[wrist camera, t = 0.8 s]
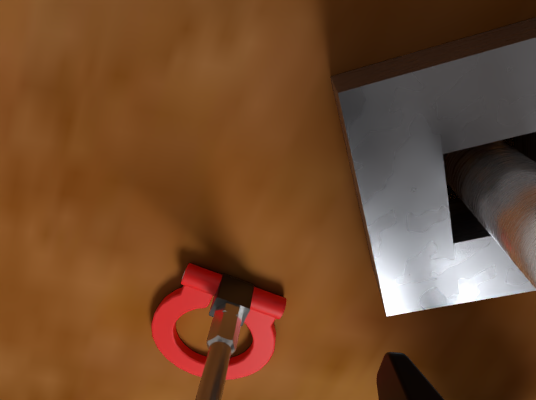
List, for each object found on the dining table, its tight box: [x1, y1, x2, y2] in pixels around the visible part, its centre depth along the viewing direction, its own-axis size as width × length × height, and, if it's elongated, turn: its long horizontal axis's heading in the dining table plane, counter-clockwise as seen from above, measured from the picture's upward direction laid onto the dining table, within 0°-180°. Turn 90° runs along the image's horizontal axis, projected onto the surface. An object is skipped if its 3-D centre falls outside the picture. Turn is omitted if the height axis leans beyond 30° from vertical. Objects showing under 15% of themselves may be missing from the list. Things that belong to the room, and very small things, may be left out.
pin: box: [443, 140, 536, 289], centre depth 16 cm, size 3×3×12 cm
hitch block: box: [331, 17, 536, 316], centre depth 19 cm, size 12×12×4 cm
